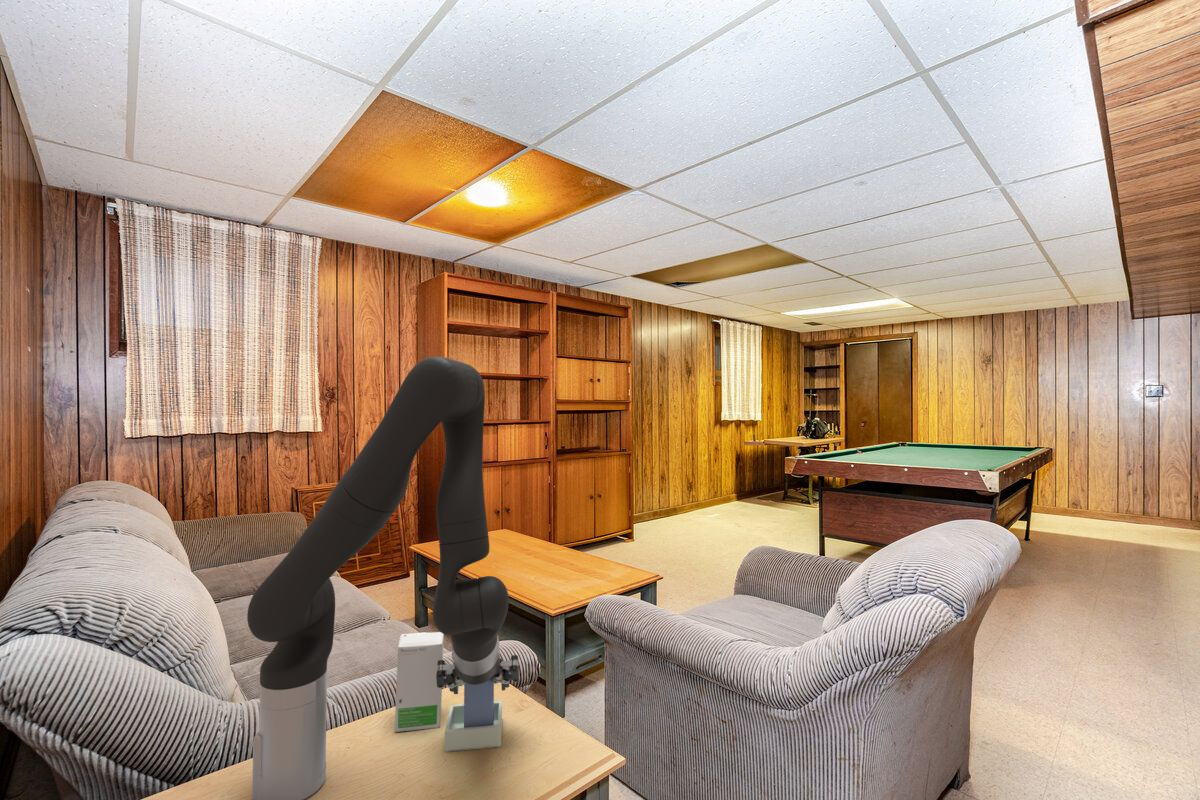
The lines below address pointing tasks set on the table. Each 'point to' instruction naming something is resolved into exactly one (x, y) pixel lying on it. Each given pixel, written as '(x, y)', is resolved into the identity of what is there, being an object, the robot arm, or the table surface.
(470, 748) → the tray
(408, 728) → the skincare box
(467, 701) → the tea box
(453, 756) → the table surface
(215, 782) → the table surface
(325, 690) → the robot arm
